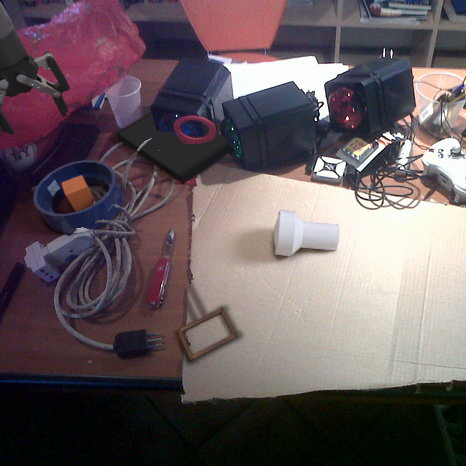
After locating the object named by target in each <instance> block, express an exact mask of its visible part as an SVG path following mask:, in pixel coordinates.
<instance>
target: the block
mask: <svg viewBox="0 0 466 466" xmlns="http://www.w3.org/2000/svg"><path fill="white" fill-rule="evenodd" d="M61 184H62V187H63V189H64V192H65V195H66V196H65V198H67V200H68V202H69V204H70V205H71V206H72V208H73V210H74V212H78V211H80V210H83V209H85V208H88V207H90V206H92V205H93V203H94V200H95V201H96V199H95V197H94V194H93V193H92V191H91V188H90V187H89V186H88V185H87V183H86V182H85V180H84V178H83V176H82V175H81V176H78V177H75V178H73V179H70V180H67V181H65V182H62V183H61Z"/></svg>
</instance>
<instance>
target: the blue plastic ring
mask: <svg viewBox="0 0 466 466" xmlns="http://www.w3.org/2000/svg"><path fill="white" fill-rule="evenodd" d="M81 175H82V176H83V178H84V180H85V182H86V183H87V185H88V187H89V186H101V187H104V188H107V189H108V190H107V192H106V193H105V194H104V195H103V196H101V198H100V199H99V200H98V201H96V203H95V204H93V205H92V206H90V207H88V208H85V209H83V210H80V211H78V212H76V211H74V212H69V213H57V209H58V206H59V204H60V203H61V201H62V200H63V199H64V198H66V195H65V192H64V189H63V187H62V184H61V183H62V182H65V181H67V180H70V179H73V178H75V177H78V176H81ZM32 199H33V203H34V206H35V208H36V209H37V211H38V212H39V214H40V215H41V217H42V218H43V219H44V220H45V223H46V224H47V225H48V226H49V227H50V228H51V229H52V230H53V231H55V232H58V233H60V234H64V235H67V234H66V233H68V232H70V231H71V230H73V229H76V228H81V227H84V228H87V229H90V230H91V229H94V230H96V229H99V228H101V227H103V226H105V225H106V224H107V223H98V224H95V221H97V220H103V219H104V220H110V221H112V220H113V219H114V218H115V217H116V216H117V214H118V213H120V211H121V209H122V207H123V204H124V202H125V192H124V189H123V188H122V186H121V183H120V182H119V180H118V177H117V176H116V174H115V171H114V169H113V168H112V167H111V166H110V165H108V164H107V163H105V162H103V161H100V160H99V161H98V160H89V159H84V160H78V161H73V162H70V163H66V164H64V165H61V166H59V167H57V168H55V169H54V170H52V171H50V172H49V173H47V175H46V176H44V177H43V179H41V180H40V182H39V183H38V185H37V186H36V187H35V189H34V192H33V198H32ZM115 204H117V205H119V206H120V207H121V208H115V206H114V205H115Z"/></svg>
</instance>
